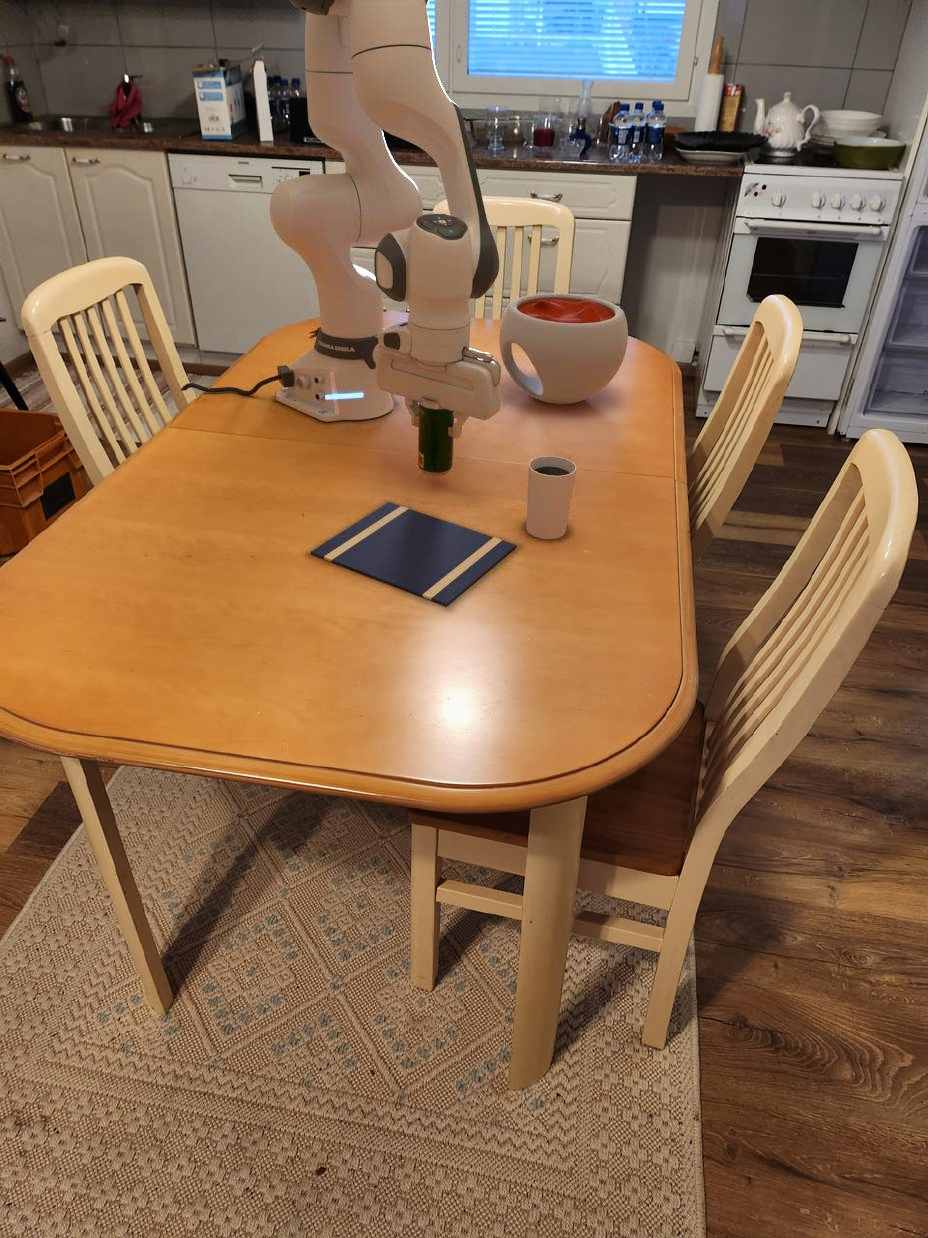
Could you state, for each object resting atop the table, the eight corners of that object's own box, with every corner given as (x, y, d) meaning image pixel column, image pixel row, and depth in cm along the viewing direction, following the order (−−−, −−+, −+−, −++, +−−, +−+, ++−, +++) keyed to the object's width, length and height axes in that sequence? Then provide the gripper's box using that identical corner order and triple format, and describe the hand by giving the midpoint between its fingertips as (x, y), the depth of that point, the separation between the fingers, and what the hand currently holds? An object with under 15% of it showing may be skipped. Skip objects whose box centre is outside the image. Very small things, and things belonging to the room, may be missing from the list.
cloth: (310, 554, 117) (310, 551, 117) (388, 504, 130) (388, 501, 130) (446, 606, 108) (446, 603, 108) (516, 547, 121) (516, 544, 121)
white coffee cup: (538, 544, 122) (544, 479, 116) (514, 523, 127) (519, 460, 121) (577, 535, 124) (586, 471, 119) (553, 514, 129) (559, 452, 124)
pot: (616, 425, 158) (631, 327, 148) (487, 412, 161) (492, 314, 151) (620, 381, 178) (633, 291, 168) (504, 370, 181) (510, 281, 171)
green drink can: (429, 479, 133) (431, 405, 125) (411, 465, 136) (412, 392, 129) (458, 472, 135) (462, 398, 128) (440, 458, 139) (442, 386, 132)
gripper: (512, 350, 122) (505, 441, 130) (394, 320, 130) (394, 408, 138) (490, 362, 117) (483, 456, 125) (368, 331, 126) (370, 421, 134)
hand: (436, 431), depth 132 cm, fingers closed on green drink can, 5 cm apart
